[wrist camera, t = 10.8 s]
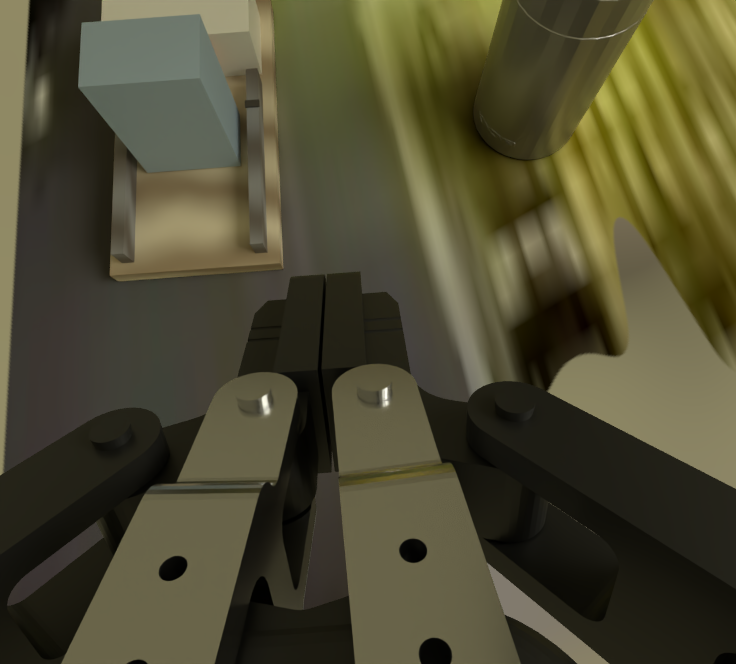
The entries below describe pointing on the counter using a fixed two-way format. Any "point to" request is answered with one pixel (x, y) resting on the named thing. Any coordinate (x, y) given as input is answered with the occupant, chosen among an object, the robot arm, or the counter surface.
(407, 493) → the robot arm
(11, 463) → the counter surface
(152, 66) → the grey rectangular block
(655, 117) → the counter surface
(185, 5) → the stop block
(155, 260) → the beige wooden tray
